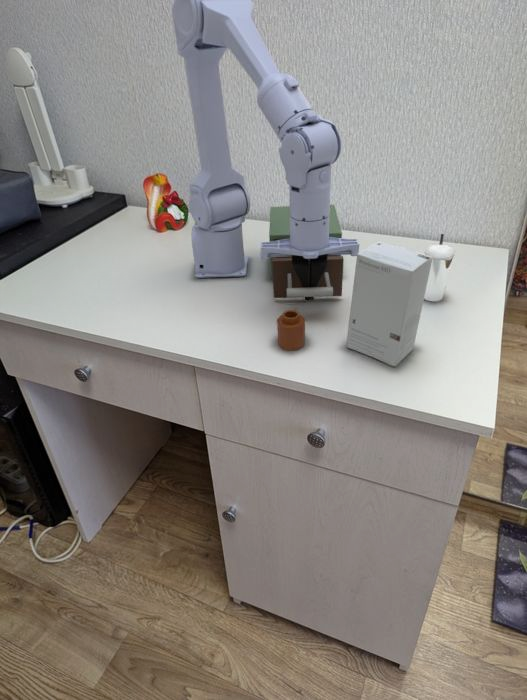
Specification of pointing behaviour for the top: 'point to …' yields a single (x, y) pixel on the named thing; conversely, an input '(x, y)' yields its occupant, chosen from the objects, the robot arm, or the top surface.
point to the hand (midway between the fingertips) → (308, 297)
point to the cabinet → (282, 225)
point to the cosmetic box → (387, 301)
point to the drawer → (290, 285)
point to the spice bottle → (291, 330)
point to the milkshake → (438, 269)
